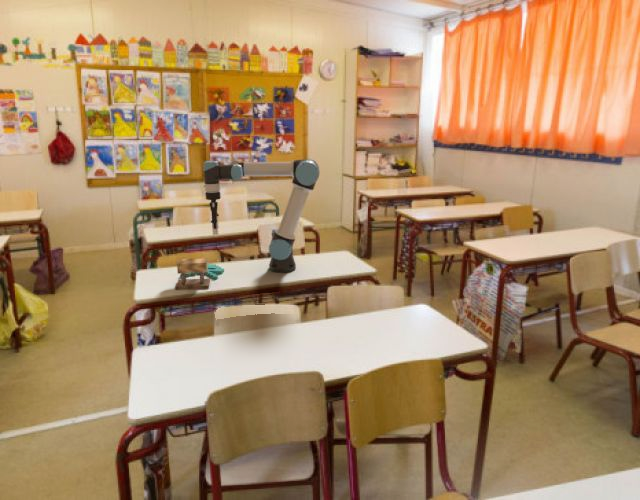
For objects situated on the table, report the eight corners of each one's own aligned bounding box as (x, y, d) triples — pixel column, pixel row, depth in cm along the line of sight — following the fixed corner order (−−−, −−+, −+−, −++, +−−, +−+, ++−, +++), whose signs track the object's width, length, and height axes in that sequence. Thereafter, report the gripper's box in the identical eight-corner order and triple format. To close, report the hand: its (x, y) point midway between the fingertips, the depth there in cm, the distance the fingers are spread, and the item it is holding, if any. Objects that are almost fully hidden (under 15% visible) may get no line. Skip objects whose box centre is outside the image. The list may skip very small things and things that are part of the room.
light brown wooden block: (207, 267, 251) (206, 258, 249) (206, 272, 243) (206, 262, 242) (179, 268, 248) (178, 259, 247) (177, 273, 241) (177, 264, 239)
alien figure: (216, 280, 257) (227, 268, 276) (216, 276, 256) (227, 264, 276) (180, 278, 259) (193, 266, 278) (180, 274, 258) (193, 263, 277)
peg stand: (210, 281, 254) (209, 266, 252) (208, 288, 244) (207, 273, 242) (178, 282, 252) (177, 267, 250) (175, 289, 242) (174, 274, 239)
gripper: (206, 188, 261) (209, 226, 267) (204, 195, 238) (207, 237, 244) (220, 187, 263) (223, 225, 269) (219, 195, 239) (223, 236, 245)
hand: (215, 231), depth 256 cm, fingers open, 13 cm apart
